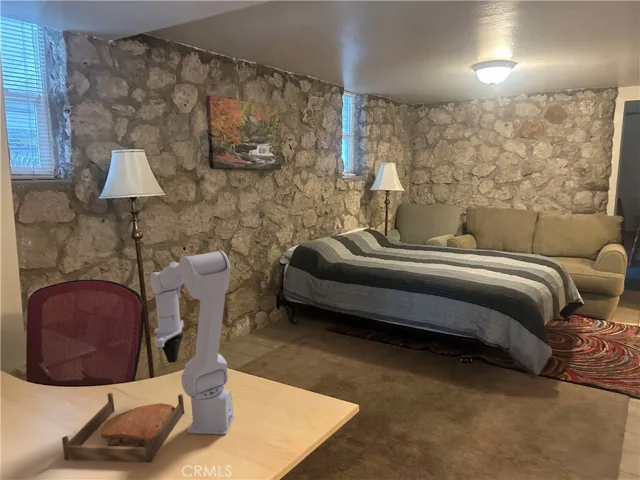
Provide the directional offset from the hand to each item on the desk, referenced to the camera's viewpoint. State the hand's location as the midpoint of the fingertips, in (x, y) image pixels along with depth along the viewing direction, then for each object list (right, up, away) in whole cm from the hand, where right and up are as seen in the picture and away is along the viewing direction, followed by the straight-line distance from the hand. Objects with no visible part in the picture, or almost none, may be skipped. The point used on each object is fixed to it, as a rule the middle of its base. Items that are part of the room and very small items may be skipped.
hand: (172, 361), depth 126 cm
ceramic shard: (-4, -14, -14) cm, 20 cm away
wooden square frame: (-5, -13, -16) cm, 21 cm away
